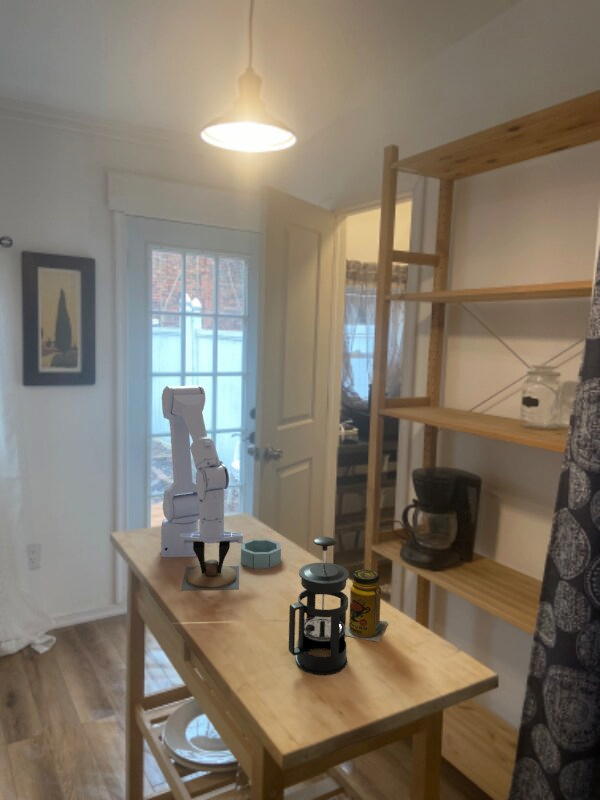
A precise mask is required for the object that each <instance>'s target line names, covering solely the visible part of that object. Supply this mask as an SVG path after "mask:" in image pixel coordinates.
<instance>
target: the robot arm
mask: <svg viewBox="0 0 600 800" xmlns="http://www.w3.org/2000/svg"><path fill="white" fill-rule="evenodd" d="M205 404H206V392H205V389H204V387H203V386H202V385H201V384H196V385H183V386H182V385H180V386H179V385H177V386H169V385H166V386H165V387H164V388H163V390H162V394H161V407H162V410H161V411H162V415H163V417H162V418H164V419H166V420H168V422H169V428H170V429H169V431H170V443H171V457H172V458H171V459H172V460H171V461H172V476H173V482H172V483H171V484H170V485H169V486H168V487H167V488H166V489H164V491H163V500H162V511H163V515H164V517H165V518H163V519H162V520H161V521H162V522H161V527H160V528H161V531H160V536H161V537H160V541H161V542H160V551H161V552H160V553H161V554H160V557H161V558H191V557H192V558H195V557H196V558H197V559H198V563H199V566H200V567H201V572H202V574H205V561H206V560H205V557H206V556H205V546H206V544H217V543H218V573H221V569H222V565H224V561H225V558H226V556H227V554H228V552H229V550H230V548H231V543H237V544H242V543H244V540H243V539H244V536H243V535H244V534H243V532H233V531H226V530H225V490H227V489H228V487H229V484H230V475H229V470H228V467H227V466H226V465H225V464H224V463H223V461H222V460H220V458H219V454H218V452H217V449H216V445H215V442H214V440H213V439H212V438H209V437H208V434H207V430H206V424H205V419H204V415H203V411H204V410H205V409H204V408H205ZM190 438H191V439H190ZM191 440H192V443H191ZM192 459H193V462H194V466H195V469H196V473H195V477H194V478H195V482H194V481H193V468H192ZM198 523H199V524H198ZM198 525H199V526H198Z"/></svg>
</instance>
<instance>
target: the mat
mask: <svg viewBox="0 0 600 800" xmlns="http://www.w3.org/2000/svg"><path fill="white" fill-rule="evenodd" d="M227 566H228V567H230V568H232V569H234V570H235V572H236V579H235V581H234V582H232V583H231V584H229V585H227V586H223V587H219V588H200V587H196V586H193V585H191V584H189V583H188V581H187V573H188V572H189V571H190V570H191V569H193V568H195V567H196V566H185V571H184V575H183V580H182V585H181V589H180V591H182V592H183V591H219V590H221V591H223V590H224V591H226V590H228V591H229V590H230V591H231V590H233V591H235V590H236V591H237V590H239V589H240V566H239V565H227Z"/></svg>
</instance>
